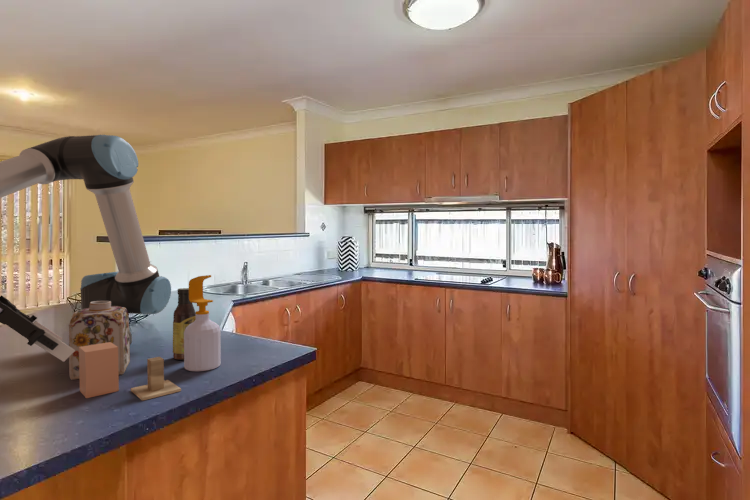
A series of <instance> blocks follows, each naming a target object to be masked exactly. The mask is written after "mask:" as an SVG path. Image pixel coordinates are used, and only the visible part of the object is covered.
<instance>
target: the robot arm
mask: <svg viewBox="0 0 750 500" xmlns="http://www.w3.org/2000/svg"><path fill="white" fill-rule="evenodd" d="M138 167H139V159H138V156H137V153H136V151H135V149H134V148H133V146H132V145H131V144H130V143H129V142H128V141H126V140H125V139H124V138H123V137H120V136H117V135H110V134H93V135H92V134H91V135H90V134H89V135H76V136H75V135H73V136H70V135H69V136H63V137H58V138H56V139H51V140H49V141H45V142H44V143H40V144H38V145H35V146H34V145H33V146H32V147H31V146H30V147H27V148H25V149H23V150H21V151H20V153H19V154H18V155H17V156H14V157H11V158H7V159H5V160H1V161H0V199H2V198H4V197H6V196H7V197H8V196H9V195H12V194H15V193H17V192H20V191H22V190H25V189H27V188H30V187H32V186H34V185H37V184H39V185H48V184H51V183H53V182H57V181H58V182H59V181H64V180H65V181H67V180H83V183H84V186H85V189H86V190H87V191H89V192H91V193H92V194H94V196H95V199H96V201H97V206H98V209H99V212H100V215H101V219H102V221H103V224H104V228H105V231H106V234H107V238H108V241H109V244H110V247H111V250H112V254H113V257H114V260H115V263H116V267H117V269H118V271H111V272H103V273H95V274H88V275H87V274H86V275H84V276H83V277H82V278H81V281H80V283H81V284H80V288H79V289H80V290H79V291H80V310H81V309H85V308H89V306H90V302H93V301H111V306H120V307H125V308H126V309H127V311H128V314H129V315H130V314H131V315H132V314H133V315H134V314H135V315H143V316H146V315H157V314H159V313H161V312H162V311H164V309H165V308H166V307H167V306H168V303H169V301H170V298H171V297H172V295H171V294H172V284H171V281H170V280H169V279H168V278H167V277H165V276H162V275H160V273H159V270H158V267H157V266H156V265H154V264H151V261H150V258H149V254H148V250H147V247H146V243H145V240H144V236H143V233H142V227H141V225H140V223H139V217H138V215H137V211H136V207H135V203H134V199H133V196H132V193H131V186H132V185H133V183H134V177H135V176H136V175H137V172H138ZM37 319H38V317H37V316H36V315H34V314H32V315H31V316H30V315H29V314H26V313H24V312H23V311H21V310H20V309H19V308H17V306H16V305H14V304H13V303H12V302H11V301H10V300H9V299H7V298H6V297H5V296H3V295H0V324H1V325H6V326H7V327H9V328H10V329H12V330H13V331H15V332H17V333H18V334H19V335H20V336H22V337H24V338H25V339H26V340H27V341H28V342H27V343H26V344H27V345H28V346H31V347H32V346H33V345H34V344H35V345H36V346H38V348H39V347H40V348H41V349H42V350H44V351H46V352H48V353H49V354H51V355H52V356H53V357H55V358H57V359H58V360H60V361H61V362H63V363H64V362H65V361H66V360H68V359H69V356H70V355H71V354H72V353H73V352H74V351H75V350H74V349H72V348H71V347H69V344H66V343H65V342H63V341H62V340H63V337H61V336H60V335H58V334H56V333H55V332H54V331H52V330H50V329H49V328H48V327H46V326H45V325H43V324H41V323H40V322H38V321H36V320H37ZM129 341H130V345H131V344H132V343H133V337H132V333H131V329H129Z"/></svg>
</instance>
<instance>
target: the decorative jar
mask: <svg viewBox="0 0 750 500" xmlns="http://www.w3.org/2000/svg"><path fill="white" fill-rule="evenodd" d="M129 315H130V314H129V313H128V311H127V309H126V308H125V307H120V306H111V301H93V302H90V306H89V308H85V309H81V308H80V309H78V310H76V311H74V312H73V313H72V316H71V319H70V321H69V324H68V346H69V347H71V348H72V349H74V350H75V351H74V352H73V353H72V354H71V355H70V356H69V357H68V368H69V369H68V370H69V371H68V372H69V373H68V374H69V378H70V380H72V381H75V380H80V376H79V347H81V346H88V345H94V344H101V343H107V342H111V343H113V344H114V345H116V346H117V347H118V372H119V376H120V375H124V374H125V372H126V370H127V368H128V366H129V364H130V362H131V359H130V358H131V355H130V353H131V352H130V351H131V350H130V349H131V348H130V346H131V344H130V341H129V330H130V321H129V320H130V319H129Z"/></svg>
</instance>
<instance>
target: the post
mask: <svg viewBox="0 0 750 500" xmlns="http://www.w3.org/2000/svg"><path fill="white" fill-rule="evenodd" d="M164 362H165V360H164V357H161V356H154V357H151V358H147V367H146V368H147V374H146V375H147V384H143V385H139V386H134V387H130V392H131V393H133V394H134V395H135V396H136V397H137V398H139V400H140V401H147V400H151V399H156V398H159V397H163V396H166V395H170V394H175V393H178V392H182V388H181V387H179V386H178V385H177V384H176V383H174V382H172V381H171V380H169V379H166V380H165V371H164V370H165V368H164V365H165V363H164Z"/></svg>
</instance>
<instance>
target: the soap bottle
mask: <svg viewBox="0 0 750 500" xmlns="http://www.w3.org/2000/svg"><path fill="white" fill-rule="evenodd" d="M209 278H212V274H207V275H198V276H196V277H194V278H191V279H190V280H188V288H189V301H190V302H191V303H192V304H196V307H198V310H195V312H196V320H195V321H194V322H193V323H191V324H189V325H188V326H187V327H186V329H185V331H184V359H183V361H184V362H183V364H184V365H183V366H184V367H183V368H184V370H186V371H190V372H195V373H196V372H207V371H211V370H215V369H217V368H219V367H220V366H221V362H222V360H221V359H222V348H221V345H222V342H221V341H222V340H221V339H222V338H221V337H222V336H221V328H220V325H219V324H218V323H216V322H215V321H213V320H211V319H210V311H209V310H208V309H206V307H208V306H209V305H208V304H209V303H213V302H214V300H213V299H206V298H204V281H205V280H207V279H209Z"/></svg>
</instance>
